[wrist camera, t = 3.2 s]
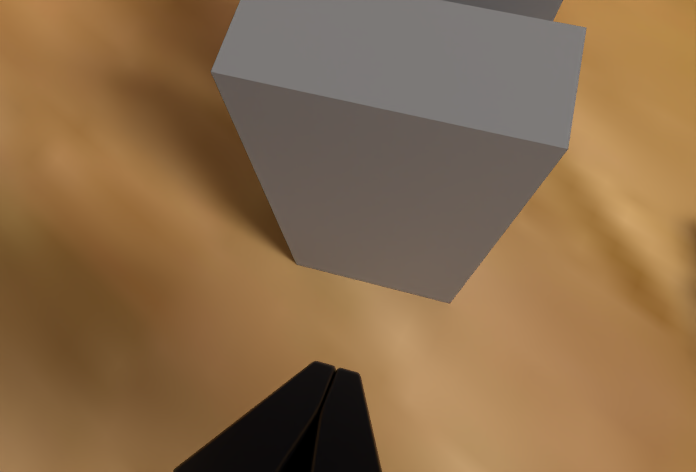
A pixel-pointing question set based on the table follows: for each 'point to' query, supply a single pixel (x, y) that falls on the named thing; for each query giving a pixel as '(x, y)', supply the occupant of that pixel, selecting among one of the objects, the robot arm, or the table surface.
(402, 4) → the domino
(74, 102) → the table surface
